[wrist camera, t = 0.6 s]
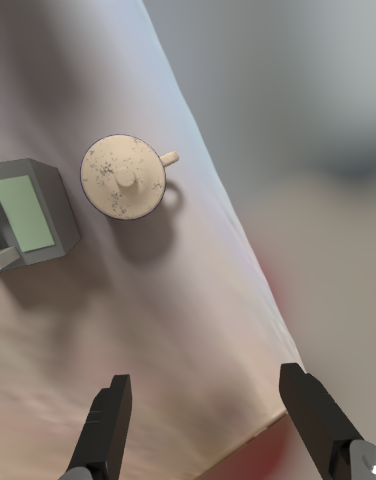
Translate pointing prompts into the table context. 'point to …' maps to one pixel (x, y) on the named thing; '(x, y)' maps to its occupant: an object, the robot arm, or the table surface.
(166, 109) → the table surface
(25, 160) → the breaker box
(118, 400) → the robot arm
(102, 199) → the teacup with lid
